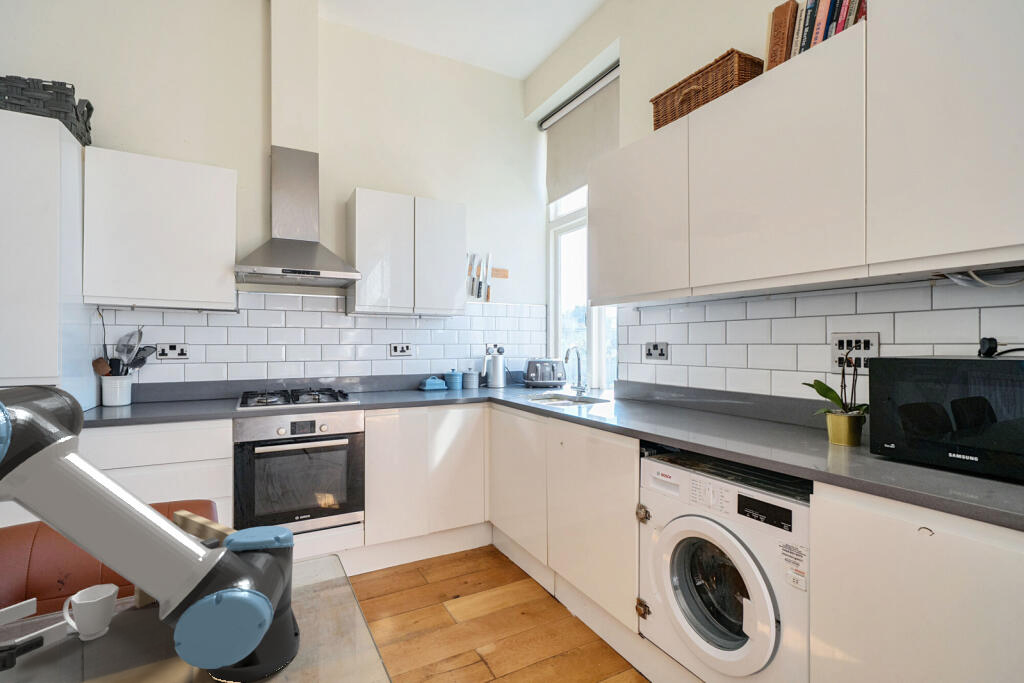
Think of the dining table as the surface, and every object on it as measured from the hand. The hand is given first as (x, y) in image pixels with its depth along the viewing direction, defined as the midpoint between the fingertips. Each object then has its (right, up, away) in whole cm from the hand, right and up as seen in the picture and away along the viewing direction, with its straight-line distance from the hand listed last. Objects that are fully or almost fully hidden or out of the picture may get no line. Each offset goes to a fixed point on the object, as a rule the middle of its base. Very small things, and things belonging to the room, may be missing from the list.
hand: (50, 616), depth 86 cm
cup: (+3, -6, +4) cm, 8 cm away
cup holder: (+17, -6, +12) cm, 21 cm away
